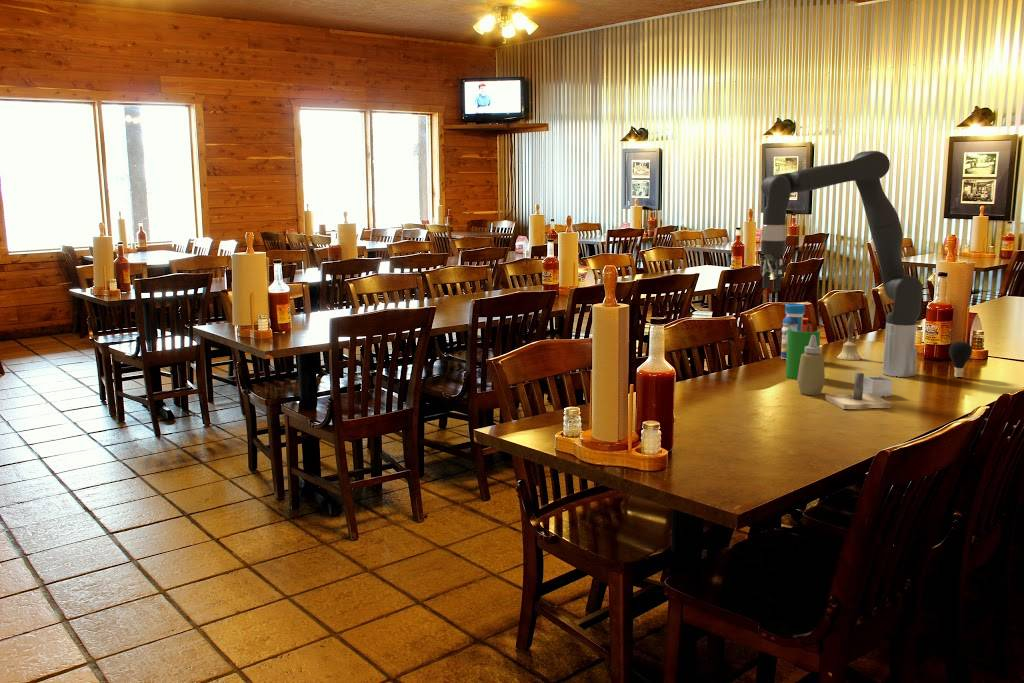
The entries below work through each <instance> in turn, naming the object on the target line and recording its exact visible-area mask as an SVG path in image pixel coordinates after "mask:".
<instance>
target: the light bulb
mask: <svg viewBox="0 0 1024 683" xmlns="http://www.w3.org/2000/svg"><path fill="white" fill-rule="evenodd" d="M948 353H949V357H950V359H951V361H952V363H953V365H954V373H953V374H954V375H953V376H954V377H955V378H957V377H962V378H963V377H964V367H965V365H966V364H967V362H968V361H969V360H970V358H971V356H972V354H973V349H972V345H970V344H969V343H968V342H966V341H960V340H958V341H955V342H952V344H951V345H950V347H949V349H948Z"/></svg>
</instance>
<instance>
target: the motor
mask: <svg viewBox="0 0 1024 683" xmlns="http://www.w3.org/2000/svg"><path fill="white" fill-rule="evenodd" d="M808 326H809V317H804V318H802V326H801V332H798V331H792V330H791V329H788V336H787V357H786V360H785V361H786V362H785V365H786V366H785V377H786V378H788V377H789V378H788V379H792V378H793V379H794V380H797V378H798V372H799V366H800V359H801V355H802V354H803V353H805V347H806V346H809V342H810V339H811V335H816V341H817V346H818V347H821V346H820V344H821V329H817V330H815V331H808Z"/></svg>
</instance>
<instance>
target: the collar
mask: <svg viewBox="0 0 1024 683" xmlns="http://www.w3.org/2000/svg"><path fill="white" fill-rule="evenodd" d="M892 386H893V380H892V379H890V378H888V377H885V376H883V375H879V376H877V375H875V376H873V375H871V376H864V382H863V394H864V393H865V394H866V393H871V394H873V395H875V396H877V397H879V398H883V397H882V396H885V397H884V398H888V397H887V396H891V397H892V390H893V389H892V388H893V387H892Z"/></svg>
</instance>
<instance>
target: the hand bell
mask: <svg viewBox="0 0 1024 683" xmlns="http://www.w3.org/2000/svg"><path fill="white" fill-rule="evenodd" d="M855 328H856V319H855V315H854V314H850V315H849V317H848V320H847V330H848V336H847V341H846V342H844V343H843V345H842V349H841V352H840V354H838V355H837V357H836V358H837V359H838V358H839V360H842V359H844V360H843V361H859V360H860V359H861V360H862V357H861V356H860V354H859V352H858V348H857V343H855V342H854V341H853V340H854V331H855Z"/></svg>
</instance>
